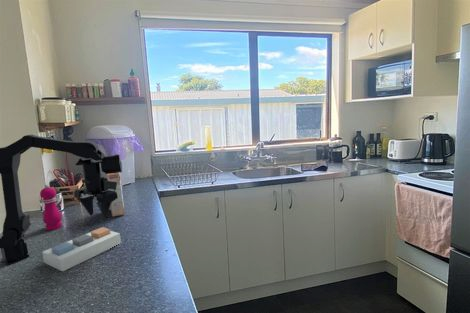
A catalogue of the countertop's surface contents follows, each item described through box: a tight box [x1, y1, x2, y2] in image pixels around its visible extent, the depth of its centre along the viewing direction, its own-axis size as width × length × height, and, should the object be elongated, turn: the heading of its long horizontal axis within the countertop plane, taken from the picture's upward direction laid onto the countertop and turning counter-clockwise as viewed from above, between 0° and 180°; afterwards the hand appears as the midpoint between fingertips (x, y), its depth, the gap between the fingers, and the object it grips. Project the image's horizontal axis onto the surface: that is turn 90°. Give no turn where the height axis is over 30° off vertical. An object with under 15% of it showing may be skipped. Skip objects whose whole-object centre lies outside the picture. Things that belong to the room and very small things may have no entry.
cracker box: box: [106, 173, 125, 218], centre depth 148 cm, size 14×6×21 cm, turn 22°
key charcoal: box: [71, 233, 93, 247], centre depth 107 cm, size 5×5×3 cm
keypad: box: [41, 230, 122, 272], centre depth 108 cm, size 22×12×4 cm, turn 147°
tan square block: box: [90, 226, 111, 239], centre depth 113 cm, size 5×5×3 cm
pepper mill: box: [39, 183, 63, 231], centre depth 133 cm, size 7×7×20 cm
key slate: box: [50, 241, 74, 256], centre depth 102 cm, size 5×5×3 cm
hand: (98, 216), depth 112 cm, fingers open, 9 cm apart
